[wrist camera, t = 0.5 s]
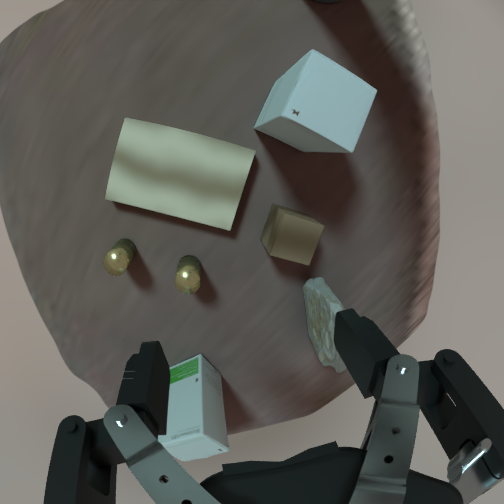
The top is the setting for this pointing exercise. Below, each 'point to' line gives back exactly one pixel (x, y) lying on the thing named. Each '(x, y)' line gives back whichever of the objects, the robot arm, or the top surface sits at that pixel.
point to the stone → (322, 321)
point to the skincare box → (195, 411)
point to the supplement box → (317, 106)
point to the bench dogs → (126, 250)
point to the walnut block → (291, 234)
